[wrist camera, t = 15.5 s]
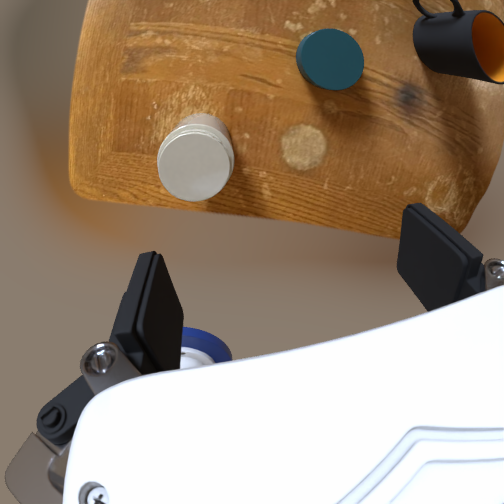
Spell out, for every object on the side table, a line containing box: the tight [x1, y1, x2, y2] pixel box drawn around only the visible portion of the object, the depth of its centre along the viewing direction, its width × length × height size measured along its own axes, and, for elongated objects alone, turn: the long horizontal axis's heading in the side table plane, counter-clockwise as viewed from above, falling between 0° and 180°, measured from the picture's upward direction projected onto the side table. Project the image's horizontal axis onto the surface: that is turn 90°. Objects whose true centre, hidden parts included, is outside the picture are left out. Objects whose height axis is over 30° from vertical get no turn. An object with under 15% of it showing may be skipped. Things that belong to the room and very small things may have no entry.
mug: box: [413, 0, 504, 84], centre depth 20 cm, size 8×12×10 cm
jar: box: [157, 113, 234, 201], centre depth 26 cm, size 6×6×10 cm
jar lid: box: [296, 29, 364, 90], centre depth 26 cm, size 7×7×2 cm
